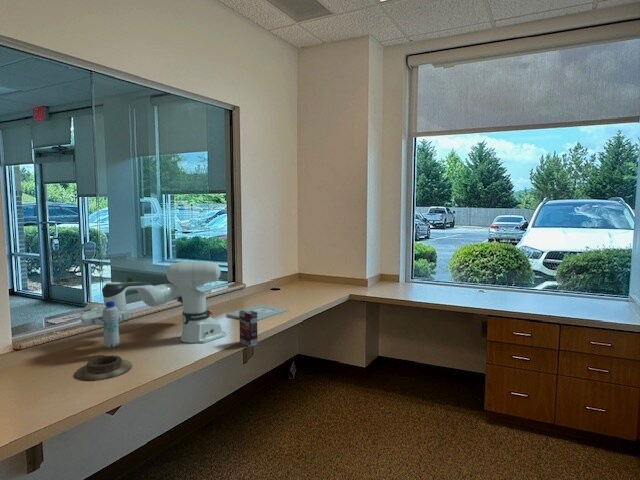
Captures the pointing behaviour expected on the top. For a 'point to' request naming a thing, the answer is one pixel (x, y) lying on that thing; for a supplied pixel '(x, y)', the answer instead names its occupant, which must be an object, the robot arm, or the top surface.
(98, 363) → the coaster
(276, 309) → the award plaque
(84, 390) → the top surface
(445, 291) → the top surface
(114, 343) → the bottle
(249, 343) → the supplement box
